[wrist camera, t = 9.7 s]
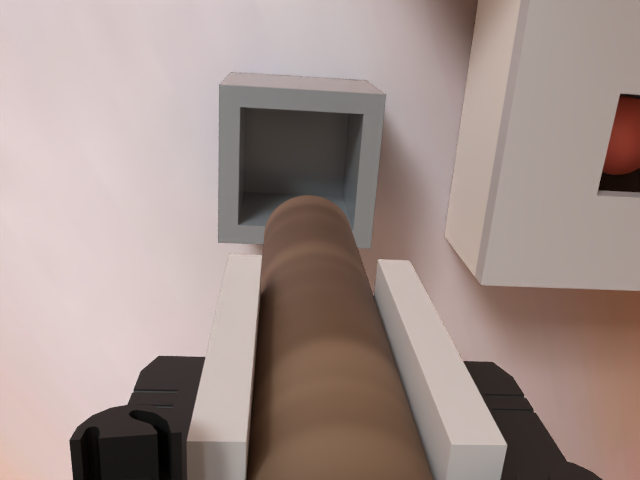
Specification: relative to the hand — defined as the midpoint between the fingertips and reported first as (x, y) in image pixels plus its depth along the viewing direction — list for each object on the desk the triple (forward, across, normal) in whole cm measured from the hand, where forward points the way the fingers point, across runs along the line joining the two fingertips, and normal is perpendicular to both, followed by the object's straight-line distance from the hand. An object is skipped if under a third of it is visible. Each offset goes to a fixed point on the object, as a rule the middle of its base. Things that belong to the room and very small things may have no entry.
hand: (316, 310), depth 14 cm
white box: (+20, +16, +2) cm, 26 cm away
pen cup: (+20, 0, 0) cm, 20 cm away
